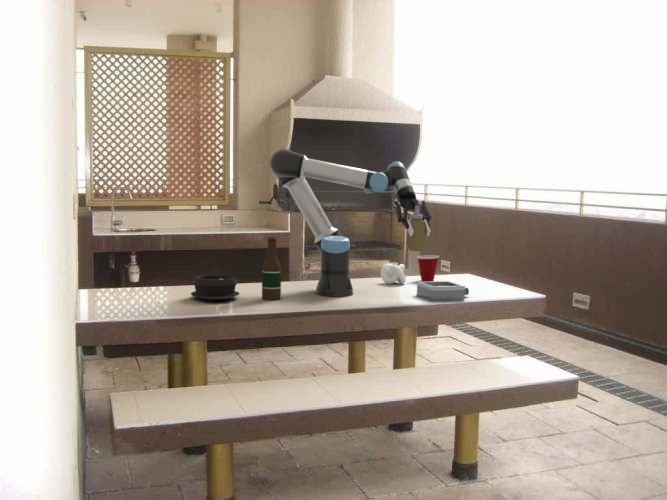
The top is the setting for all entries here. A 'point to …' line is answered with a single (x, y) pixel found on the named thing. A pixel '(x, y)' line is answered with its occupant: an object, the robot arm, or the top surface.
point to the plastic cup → (427, 266)
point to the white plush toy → (393, 273)
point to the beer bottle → (271, 273)
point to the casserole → (215, 287)
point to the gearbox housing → (441, 290)
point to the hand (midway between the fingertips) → (420, 233)
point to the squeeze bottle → (417, 232)
